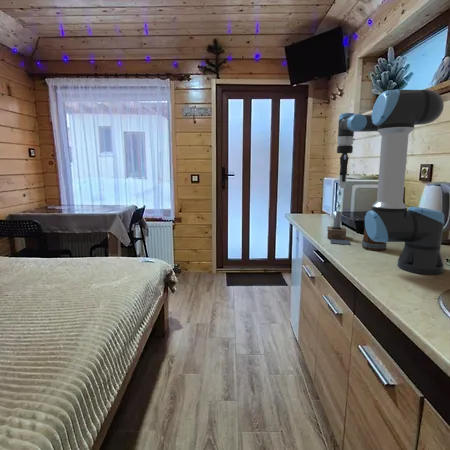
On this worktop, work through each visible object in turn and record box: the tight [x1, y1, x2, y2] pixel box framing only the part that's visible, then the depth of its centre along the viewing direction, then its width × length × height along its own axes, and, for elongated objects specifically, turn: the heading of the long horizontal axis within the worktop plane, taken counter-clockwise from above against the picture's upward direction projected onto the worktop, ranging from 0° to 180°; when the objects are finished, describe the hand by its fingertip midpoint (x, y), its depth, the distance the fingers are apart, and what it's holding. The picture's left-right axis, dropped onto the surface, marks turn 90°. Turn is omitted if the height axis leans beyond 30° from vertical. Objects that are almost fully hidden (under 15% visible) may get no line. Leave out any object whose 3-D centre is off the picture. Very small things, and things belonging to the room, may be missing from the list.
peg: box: [332, 210, 342, 230], centre depth 172 cm, size 4×4×14 cm
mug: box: [361, 227, 387, 252], centre depth 153 cm, size 16×11×15 cm
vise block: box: [326, 226, 347, 240], centre depth 173 cm, size 9×9×5 cm
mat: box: [330, 239, 351, 246], centre depth 163 cm, size 9×9×1 cm
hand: (342, 187), depth 168 cm, fingers open, 13 cm apart
